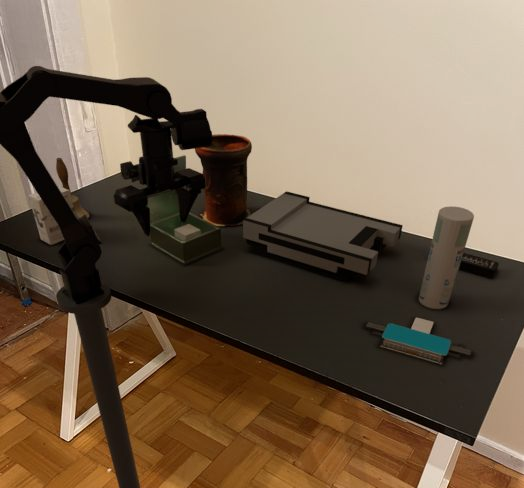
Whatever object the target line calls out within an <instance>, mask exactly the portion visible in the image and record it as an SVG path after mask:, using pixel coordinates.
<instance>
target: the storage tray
mask: <svg viewBox="0 0 524 488" xmlns="http://www.w3.org/2000/svg"><path fill="white" fill-rule="evenodd" d="M187 224H190V225H192V226H194V227H196V228H198V229H200V231H201V234H200V235H198V236H195V237H193V238H190V239H188V240H185V241H182V240H180V239H178V238H176V237H175V231H174V229H176V228H179V227H182V226H184V225H187ZM221 230H222V229H221V227H220V226H215V225H213V224H211V223H209V222H207V221H205V220H203V218H201V217H199V216H197V215H195V214H193V213H191V211H190V212H189V215H188V217H187V219H186V222H185V223H183V222H181V219H180V214H179V213H176V214H173V215H171V216H168V217H165V218H162V219H159V220H156V221H154V222H151V223H150V235H149V237H150V243H151V246H152V247H154V248H155V249H157V250H159V251H161V253H164V255H165V254H166V255H167V256H169V257H171V258H172V259H174V260H176V261H177V262H179V263H180V264H182V265H183V266H186V265H188V264H190V263H194V262H196V261H197V260H200V259H203V258H204V257H207V256H209V255H212V254H214V253H216V252H219V251H221V250H222V231H221Z"/></svg>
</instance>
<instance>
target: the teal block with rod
mask: <svg viewBox="0 0 524 488" xmlns="http://www.w3.org/2000/svg"><path fill="white" fill-rule="evenodd" d="M434 323H435V321H432V320H427V319H424V318H420V317H415V318H414V321H413V323H412V326H411V328H409V327H405V326H402V325H398V324H395V323H390V322H389V323H387V326H385V325H382V324H377V323H374V322H370V321H368V322H367V324H366V325H365V326H366V327H365V329H366V330H371V331H372V333H371V334H372V335H375V336H379V337H381V338H382V339H383V340H382V342H381V344H380V348H382V349H385V350H388V351H392V352H394V353H398V354H401V355H406V356H409V357H411V358H415V359H418V360H423V361H426V362H430V363H432V364H436V365H438V366H439V365H440V366H442V365H443V363H444V359H445V356H449V357H452V358H456V359H460V358H461V356H462V357H466V358H470V357H471V354H472V350H471V349H467V348H465V347H461V346H457V345H453V344H452V340H451V339H449V338H445V337H442V336H438V335H435V334H431V331H432V330H433V329H432V328H433V327H434Z"/></svg>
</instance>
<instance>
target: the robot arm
mask: <svg viewBox="0 0 524 488" xmlns="http://www.w3.org/2000/svg"><path fill="white" fill-rule="evenodd" d="M48 98H56V99H64V100H70V101H78V102H86V103H92V104H93V103H94V104H99V105H106V106H107V105H108V106H113V107H119V108H122V109H125V110H127V111H130V112H132V113H135V114H134V116H133V118H132V120H131V121H130V122H129V123H128V124H127V128H128V129H129V130H130V131H131V132H132V133H133V134H137V133H139V136H140V143H141V153H142V156H139V158H138V163H136V164H133V162H132V161H130V160H128V161H125V162H120V163H119V167H120V168H119V169H120V174H121V177H122V179H123V180H125V181H126V180H127V181H128V180H130V181H131V183H135V182H137V181H139V182H138V183H139V184H140V185H142V186H145V185H146V186H147V188H145V187H144V188H137V187H136V186H133V185H127V186H124V187H121V188H118V189H115V191H114V193H113V201H114V204H115V205H116V206H118V207H120V208H122V209H123V210H126V211H127V212H130V213H132V214H133V215H134V217H135V218H136V221H137V223H138V224H139V226H140V228H141V230H142V232H143V234H144V235H145V236H146V237H150V224H151V223H150V208H148V207H147V204H148V198H150V197H153V196H156V195H159V194H162V193H165V192H169V191H172V190H176V192H177V195H178V201H179V213H178V214H180V219H181V222H183V223H185V222H186V219H187V217H188V215H189V212H190V213H191V210H192V208H193V206H194V204H195V201H196V199H197V198H198V196H199V195H200V194H201V193H202V190H204V188H206V179H205V177H204V175H203V172H199V171H197V170H195V169H193V168H191V167H188V168H187V167H186V169H184V170H180V171H177V172H176V173H175V172H174V165H178V160H177V159H176V157H174V151H173V144H174V146H178V149H180V151H187V150H195V148H203V147H209V146H210V145H211V143H212V135H213V131H212V129H211V126H210V121H209V119H208V117H207V111H206V110H204V108H197V109H193V110H187V111H179V110H178V109H177V108H176V107H175V106H174V104H173V98H172V95H171V92H170V91H169V90H168V88H167V87H166V86H165V85H163V84H162V83H160V82H158V81H157V80H156V79H154V78H152V77H148V76H147V77H146V76H143V77H142V76H141V77H128V78H120V79H112V78H106V77H100V76H94V75H87V74H82V73H75V72H68V71H63V70H57V69H52V68H46V67H43V66H41V65H34V66H31V67H30V68H29V69H28V70H27V71H26V72H25V73H24V74H23V75H22V76H20V77H19V78H17V79H15V80H14V81H13V82H11V83H9V84H8V85H7V86H5V87H4V88H3V89H2V90H1V91H0V146H1V147H2V148H3V149H4V150H5V151H6V152H7V153H8V154H9V155H10V156H12V158H13V159H14V160H15V161H16V162H17V164H18V165H19V167H20V168H21V170H22V172H23V173H24V174H25V176H26V177H27V179H28V181H29V182H30V185H32V187H33V188H34V190H35V191H36V193H38V194H39V196H40V198H41V199H42V201H43V202H44V204H45V205H46V207H47V208H48V210H49V211H50V213H51V215H52V216H53V218H54V219H55V221H56V222H57V224H58V225H59V228H60V230H61V233H62V235H63V238H64V240H63V241H64V242H63V244H62V245H61V246H60V248H58V250H57V252H56V255H57V257H58V259H59V263H60V265H61V267H62V268H60V269H59V273H60V277H61V280H62V284H63V286H64V288H65V289H64V290H62V293H63V294H64V295H66V296H67V297H68V298H69V299H71V300H72V301H73V302H74V303H75V304H80V303H83V302H85V301H87V300H90V299H92V298H95V297H97V296H99V295H102V294H104V290H103V289H101V288H100V287H101V286H102V285H101V281H102V280H101V275H100V271H99V269H98V268H97V267H96V264H97V262H98V261H99V260H100V258H101V256H102V254H103V252H102V248H101V245H102V244H103V241H102V240H101V238H100V236H99V235H98V233H97V231H96V229H95V228H94V227H93V225H92V223H91V222H90V220H89V218H87V216H86V215H84V216H82V217H81V218H79V217H78V216H77V215H76V214H75V213H74V212H73V211H72V209H71V207H70V206H69V204H68V202H67V201H66V199H65V198H64V196H63V194H62V193H61V191H60V189H59V188H58V186H59V185H58V184H57V183H56V181H55V180H54V179H55V178H54V177H53V176H52V174H51V172H49V170H48V168H47V166H46V164H45V163H44V161H43V160H42V158H41V157H40V155H39V154H38V151H37V149H36V148H35V145H34V143H33V141H32V138H31V136H30V133H29V131H28V128H27V125H26V122H27V121H28V120H29V119H30V118H31V117H32V116H34V114H35V113H36V112H37V110H38V109H39V108H40V107H41V106H42V104H44V102H45V101H46V100H47V99H48ZM137 114H138V115H137ZM140 116H144V117H147V118H143V119H141V118H140ZM161 119H164V120H165V121H163V120H162V121H160V120H161Z"/></svg>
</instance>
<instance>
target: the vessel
mask: <svg viewBox="0 0 524 488" xmlns="http://www.w3.org/2000/svg"><path fill="white" fill-rule="evenodd" d="M252 149H253V145H252V141H251V140H250V139H249V138H248V137H246V136H243V135H238V134H237V135H236V134H226V133H224V134H221V133H219V134H212V143H211V145H210V146H209V147H203V148H195V149H194V152H195V154H196V156H197V157H198V158H199V160H200V164H201V167H202V174H203V175H204V177H205V179H206V188H204V189H203V193H204V201H205V210H204V211H203V213H200V214H199V215H200V217H202V219H203V220H205V221H207V222H209V223H211V224H213V225H215V226H217V227H225V226H228V227H229V226H230V227H234V226H240V225H243V220H244V219H246V218H247V217H249V216H250V215H252V213H251V212H250V209H249V208H247V207H248V206H247V205H248V203H247V202H248V200H247V199H248V159H249V156H250V154H251V153H252Z"/></svg>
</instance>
